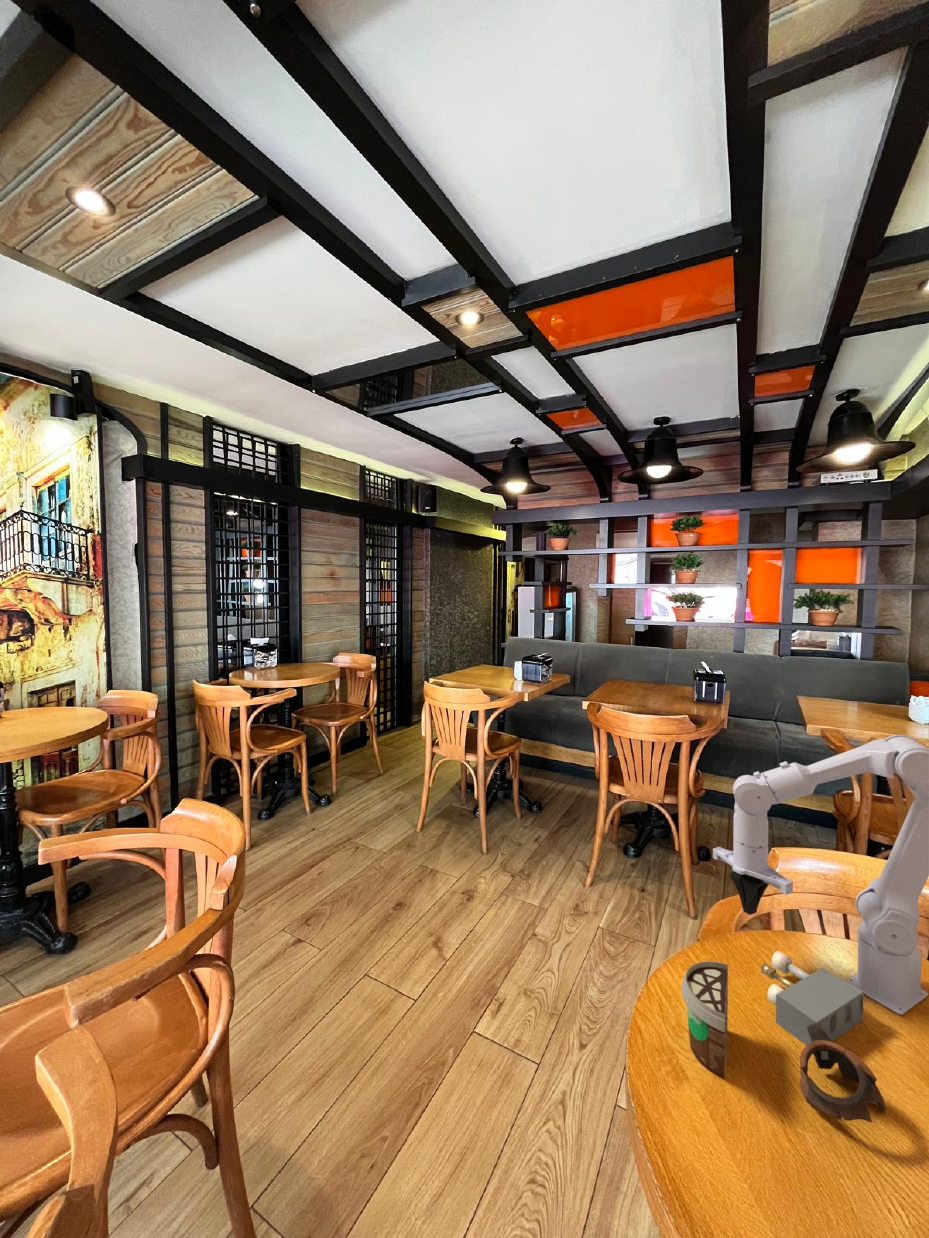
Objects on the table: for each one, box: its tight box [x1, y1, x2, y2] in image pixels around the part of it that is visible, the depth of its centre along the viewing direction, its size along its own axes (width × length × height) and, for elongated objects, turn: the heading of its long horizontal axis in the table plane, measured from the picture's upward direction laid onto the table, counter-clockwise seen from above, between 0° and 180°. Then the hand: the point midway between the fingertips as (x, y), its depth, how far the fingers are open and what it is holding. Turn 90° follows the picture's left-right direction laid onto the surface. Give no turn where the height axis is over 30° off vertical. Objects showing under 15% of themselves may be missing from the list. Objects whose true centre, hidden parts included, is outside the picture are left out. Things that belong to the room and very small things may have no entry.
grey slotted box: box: [775, 967, 864, 1046], centre depth 80 cm, size 13×6×5 cm, turn 116°
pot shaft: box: [760, 962, 795, 988], centre depth 85 cm, size 2×7×2 cm, turn 26°
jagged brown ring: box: [798, 1023, 887, 1123], centre depth 68 cm, size 12×10×8 cm
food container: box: [681, 960, 729, 1080], centre depth 76 cm, size 12×6×10 cm, turn 150°
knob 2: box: [771, 950, 810, 981], centre depth 87 cm, size 3×7×3 cm, turn 26°
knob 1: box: [766, 983, 785, 1006], centre depth 79 cm, size 3×7×3 cm, turn 26°
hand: (749, 911), depth 94 cm, fingers closed
